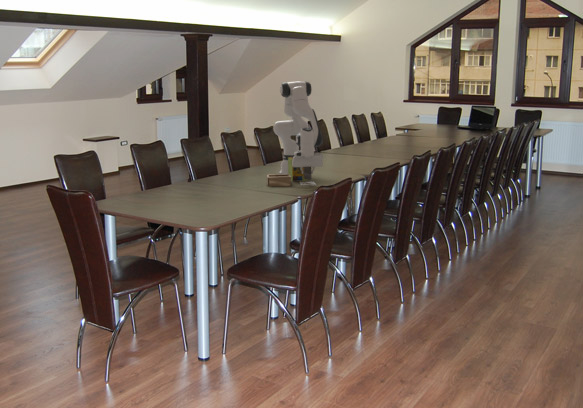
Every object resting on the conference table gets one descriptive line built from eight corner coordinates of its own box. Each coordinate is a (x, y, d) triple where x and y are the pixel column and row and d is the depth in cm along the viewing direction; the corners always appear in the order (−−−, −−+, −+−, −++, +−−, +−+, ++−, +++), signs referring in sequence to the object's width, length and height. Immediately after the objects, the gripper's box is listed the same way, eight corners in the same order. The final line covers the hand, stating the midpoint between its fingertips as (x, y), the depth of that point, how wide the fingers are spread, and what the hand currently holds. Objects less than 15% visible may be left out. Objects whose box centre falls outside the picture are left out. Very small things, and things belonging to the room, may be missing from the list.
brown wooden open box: (267, 183, 434) (267, 174, 432) (289, 183, 435) (289, 173, 433) (267, 186, 422) (267, 177, 421) (291, 186, 423) (291, 176, 422)
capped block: (303, 177, 432) (303, 166, 430) (310, 177, 432) (310, 165, 431) (304, 179, 426) (304, 167, 424) (311, 179, 426) (311, 167, 424)
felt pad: (299, 183, 435) (299, 181, 435) (314, 182, 436) (314, 181, 436) (300, 186, 424) (300, 184, 423) (316, 185, 424) (316, 184, 424)
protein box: (292, 182, 440) (292, 159, 437) (288, 178, 454) (287, 156, 451) (307, 181, 442) (307, 158, 438) (302, 178, 456) (302, 156, 453)
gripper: (322, 151, 429) (322, 172, 432) (291, 152, 428) (291, 173, 431) (323, 153, 423) (323, 174, 426) (292, 153, 422) (292, 174, 424)
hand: (307, 173), depth 428 cm, fingers closed on capped block, 4 cm apart
